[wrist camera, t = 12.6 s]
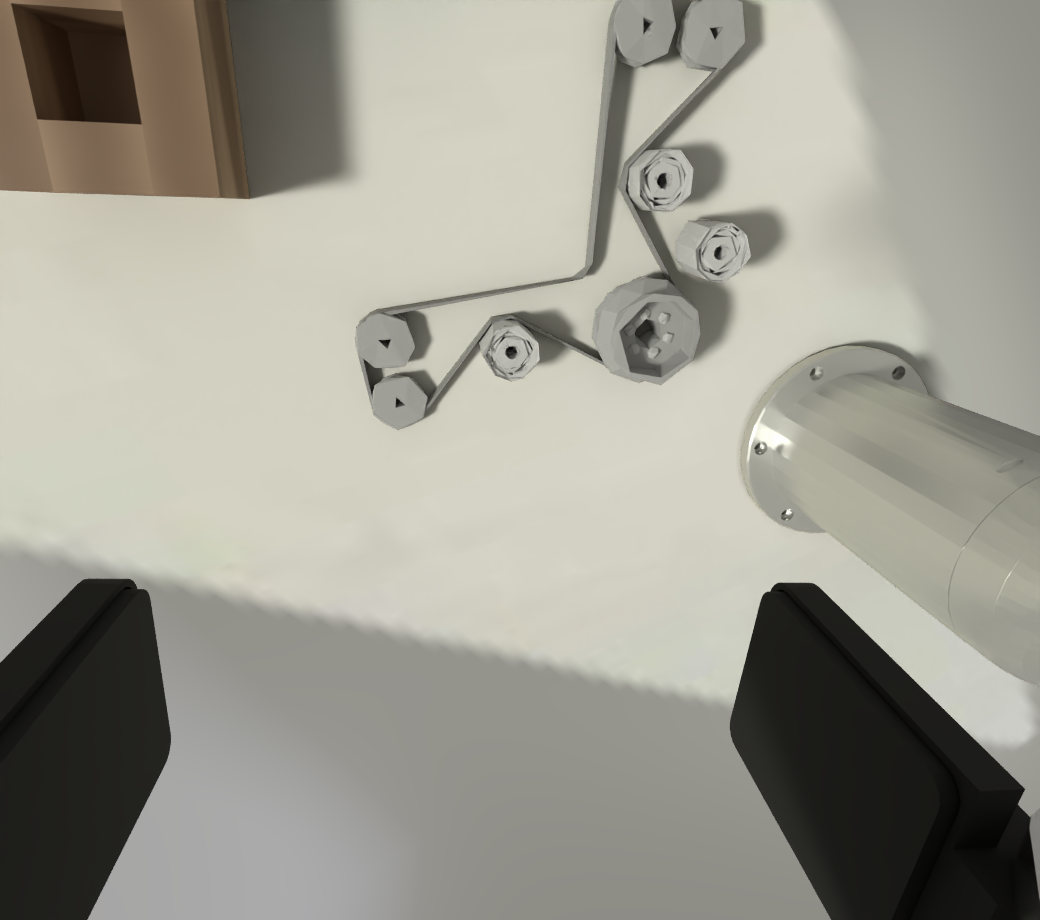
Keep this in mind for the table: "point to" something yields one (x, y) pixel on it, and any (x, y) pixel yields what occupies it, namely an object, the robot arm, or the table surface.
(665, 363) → the pulley system
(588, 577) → the table surface
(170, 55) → the block
